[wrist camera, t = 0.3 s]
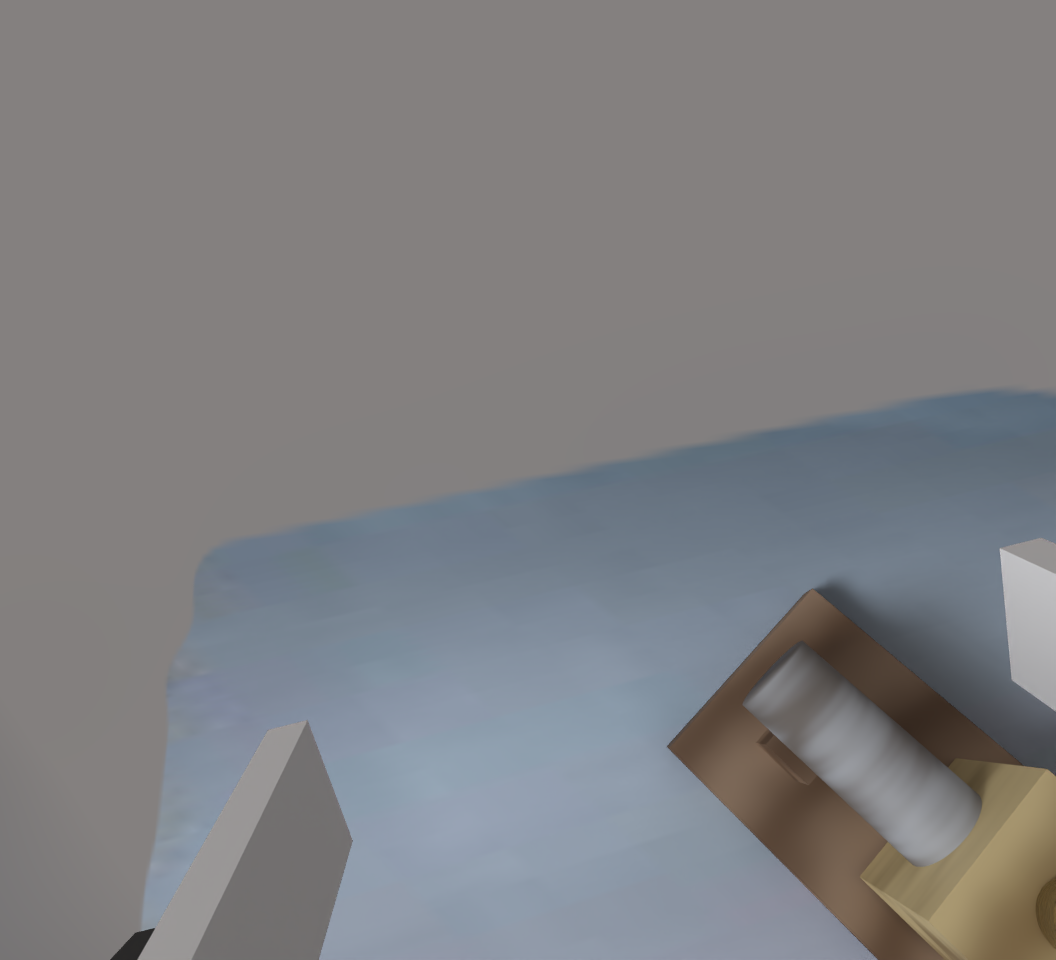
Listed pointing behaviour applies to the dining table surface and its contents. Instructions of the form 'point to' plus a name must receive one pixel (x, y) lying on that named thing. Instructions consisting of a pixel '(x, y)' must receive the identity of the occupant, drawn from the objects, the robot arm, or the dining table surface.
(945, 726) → the pipe rig
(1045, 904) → the valve lever
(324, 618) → the dining table surface
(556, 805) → the dining table surface
